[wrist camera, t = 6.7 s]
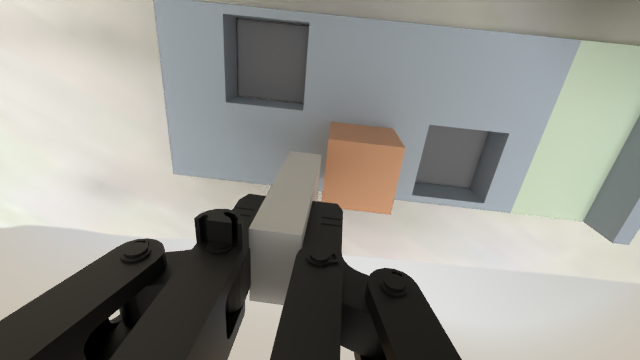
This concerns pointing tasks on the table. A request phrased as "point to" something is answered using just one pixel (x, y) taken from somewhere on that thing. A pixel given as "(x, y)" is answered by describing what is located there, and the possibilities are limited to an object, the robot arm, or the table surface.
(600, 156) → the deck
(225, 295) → the robot arm
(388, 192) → the block
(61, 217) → the table surface
